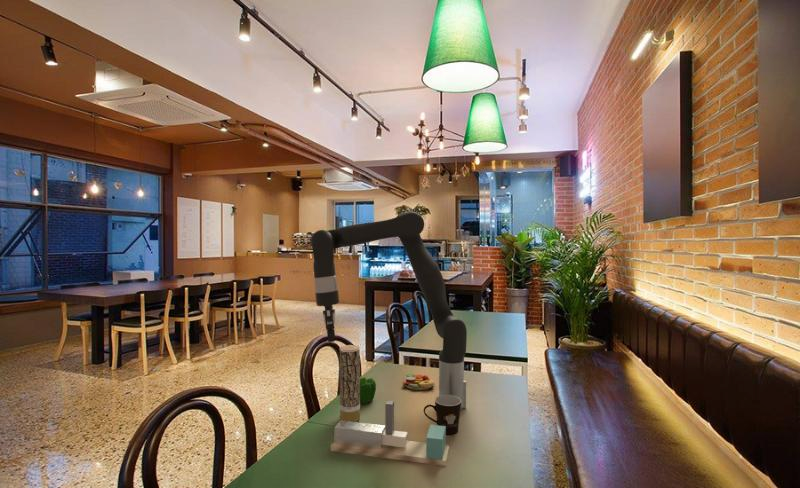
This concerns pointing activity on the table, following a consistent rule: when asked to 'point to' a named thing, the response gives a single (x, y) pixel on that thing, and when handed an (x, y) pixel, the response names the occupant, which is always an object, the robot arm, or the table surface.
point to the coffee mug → (447, 412)
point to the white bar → (392, 429)
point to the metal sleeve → (359, 434)
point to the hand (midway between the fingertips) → (331, 339)
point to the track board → (395, 452)
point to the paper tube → (350, 383)
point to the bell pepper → (367, 389)
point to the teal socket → (436, 442)
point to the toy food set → (418, 382)
